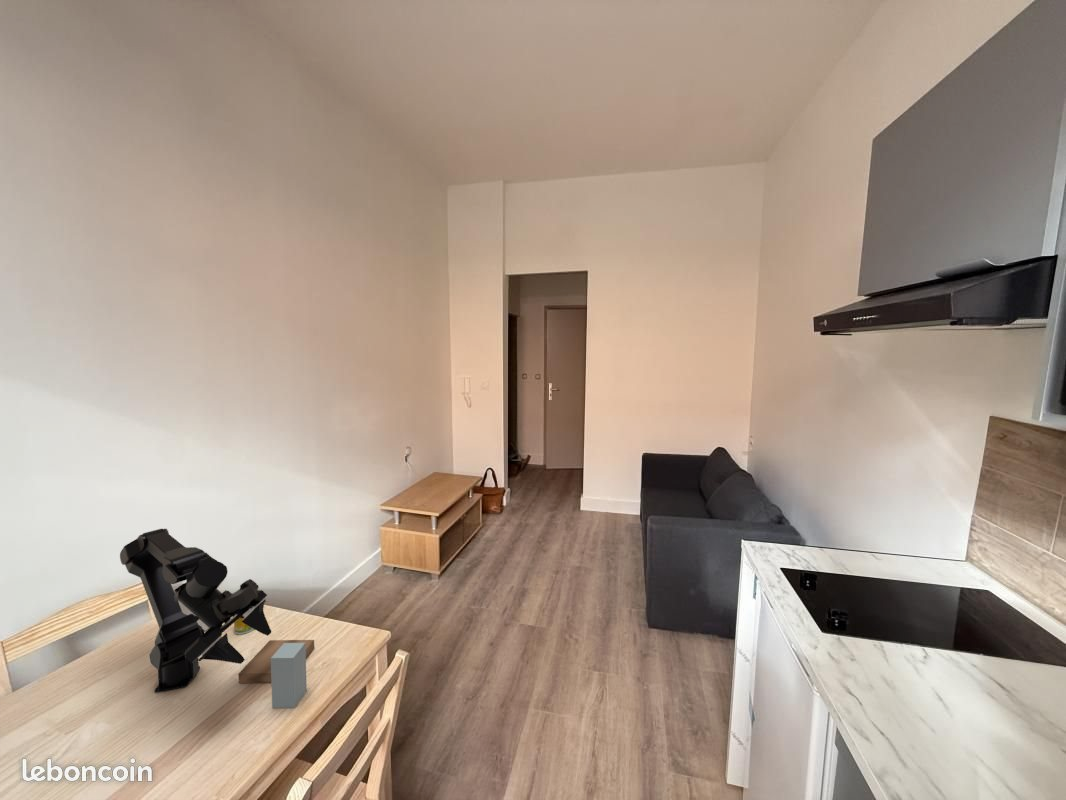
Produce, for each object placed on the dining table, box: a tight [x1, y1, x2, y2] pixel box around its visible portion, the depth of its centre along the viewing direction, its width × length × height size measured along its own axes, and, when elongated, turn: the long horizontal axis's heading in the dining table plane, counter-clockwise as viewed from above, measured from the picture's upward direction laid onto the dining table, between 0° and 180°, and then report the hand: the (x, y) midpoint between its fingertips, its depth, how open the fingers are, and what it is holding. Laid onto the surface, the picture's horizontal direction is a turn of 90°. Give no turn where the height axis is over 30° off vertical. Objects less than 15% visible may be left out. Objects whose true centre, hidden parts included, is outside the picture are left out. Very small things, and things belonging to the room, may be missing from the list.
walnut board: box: [238, 639, 315, 684], centre depth 102 cm, size 12×12×2 cm
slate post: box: [270, 643, 308, 709], centre depth 91 cm, size 5×5×12 cm
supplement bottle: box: [233, 617, 255, 635], centre depth 116 cm, size 5×5×10 cm
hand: (257, 647), depth 90 cm, fingers open, 9 cm apart
